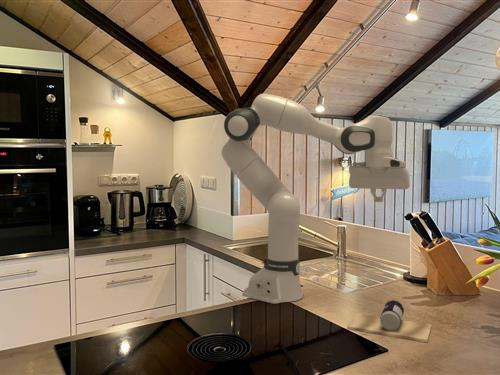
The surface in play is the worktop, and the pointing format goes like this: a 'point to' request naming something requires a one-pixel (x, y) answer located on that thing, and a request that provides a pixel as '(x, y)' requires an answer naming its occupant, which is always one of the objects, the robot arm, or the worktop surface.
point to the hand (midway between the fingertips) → (378, 201)
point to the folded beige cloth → (403, 331)
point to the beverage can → (392, 315)
